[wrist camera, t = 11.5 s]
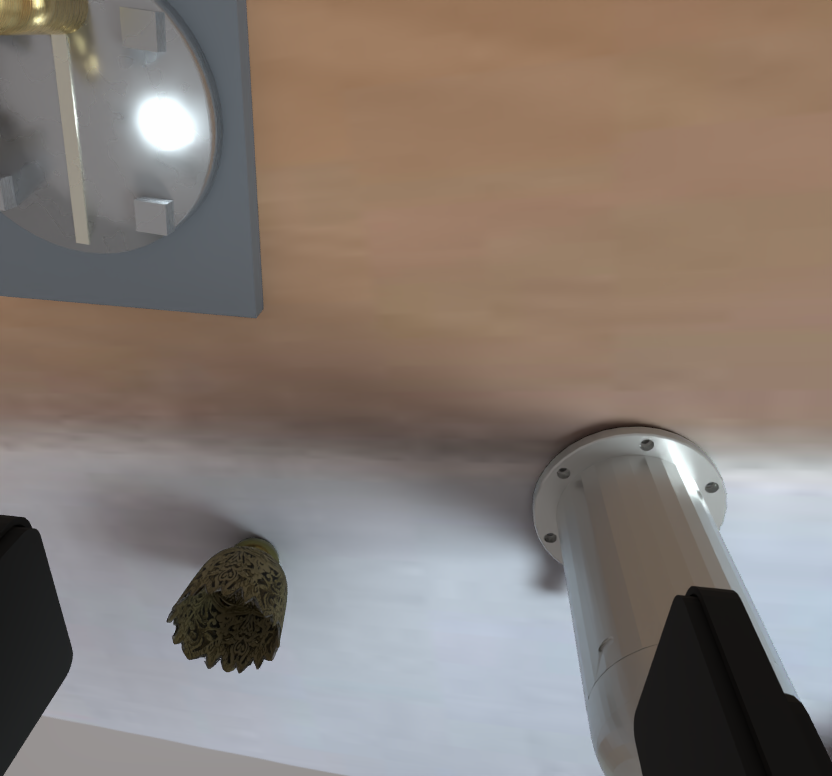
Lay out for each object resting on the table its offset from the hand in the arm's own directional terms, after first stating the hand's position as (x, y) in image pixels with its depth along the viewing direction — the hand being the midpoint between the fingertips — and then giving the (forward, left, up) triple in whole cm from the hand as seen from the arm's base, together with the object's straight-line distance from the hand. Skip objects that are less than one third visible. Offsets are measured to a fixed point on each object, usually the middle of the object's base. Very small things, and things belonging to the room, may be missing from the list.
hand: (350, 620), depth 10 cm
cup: (-28, +12, -31) cm, 43 cm away
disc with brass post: (+3, +18, -29) cm, 34 cm away
